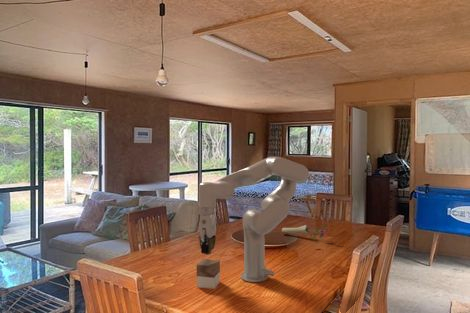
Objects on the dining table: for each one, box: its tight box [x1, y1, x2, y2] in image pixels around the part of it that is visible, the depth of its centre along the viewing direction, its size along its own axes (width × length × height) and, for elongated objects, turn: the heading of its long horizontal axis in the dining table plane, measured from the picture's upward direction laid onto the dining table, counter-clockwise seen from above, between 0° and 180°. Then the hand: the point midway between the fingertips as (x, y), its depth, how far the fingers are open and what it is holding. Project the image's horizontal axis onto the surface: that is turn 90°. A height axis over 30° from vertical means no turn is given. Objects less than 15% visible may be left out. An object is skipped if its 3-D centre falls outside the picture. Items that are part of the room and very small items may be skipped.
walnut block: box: [196, 258, 221, 278], centre depth 153 cm, size 8×8×5 cm
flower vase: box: [281, 224, 328, 243], centre depth 228 cm, size 12×12×35 cm
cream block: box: [196, 271, 221, 290], centre depth 153 cm, size 8×8×5 cm
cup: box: [198, 234, 217, 256], centre depth 152 cm, size 8×7×8 cm
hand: (207, 250), depth 152 cm, fingers closed on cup, 6 cm apart
